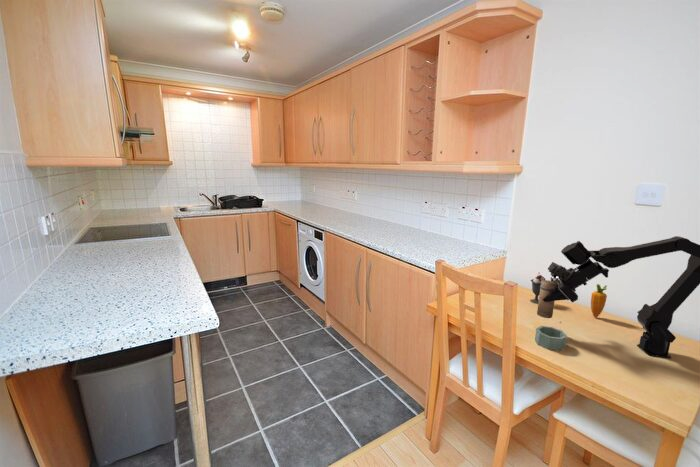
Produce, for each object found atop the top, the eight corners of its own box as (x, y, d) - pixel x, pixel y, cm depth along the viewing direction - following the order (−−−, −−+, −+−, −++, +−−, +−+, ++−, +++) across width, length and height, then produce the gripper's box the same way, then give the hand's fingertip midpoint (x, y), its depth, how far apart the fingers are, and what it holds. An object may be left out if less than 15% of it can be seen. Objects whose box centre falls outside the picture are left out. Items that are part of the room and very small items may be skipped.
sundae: (531, 304, 146) (535, 273, 143) (525, 298, 152) (529, 268, 149) (546, 305, 145) (551, 274, 142) (540, 299, 151) (544, 269, 148)
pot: (558, 339, 115) (560, 327, 114) (568, 352, 107) (570, 340, 106) (532, 336, 117) (533, 324, 116) (540, 348, 109) (542, 336, 108)
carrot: (602, 316, 134) (608, 283, 131) (603, 321, 129) (609, 286, 127) (587, 313, 136) (593, 281, 133) (588, 318, 132) (594, 284, 129)
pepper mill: (546, 312, 122) (551, 280, 119) (555, 318, 117) (560, 285, 114) (533, 312, 122) (537, 280, 119) (542, 318, 117) (546, 285, 114)
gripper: (560, 251, 121) (524, 274, 128) (571, 263, 105) (529, 289, 111) (581, 273, 120) (544, 295, 126) (596, 289, 103) (553, 314, 110)
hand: (542, 298), depth 118 cm, fingers closed on pepper mill, 5 cm apart
